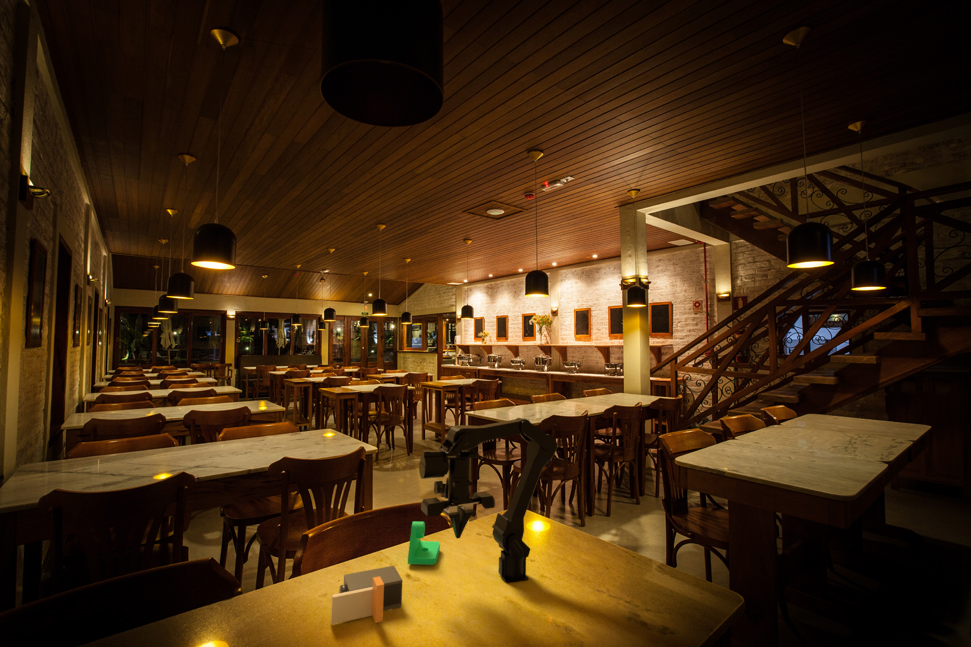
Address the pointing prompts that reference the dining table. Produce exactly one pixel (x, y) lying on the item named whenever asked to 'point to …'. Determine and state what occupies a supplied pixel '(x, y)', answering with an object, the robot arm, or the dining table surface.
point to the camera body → (366, 580)
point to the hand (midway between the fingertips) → (457, 537)
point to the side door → (359, 603)
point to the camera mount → (422, 546)
